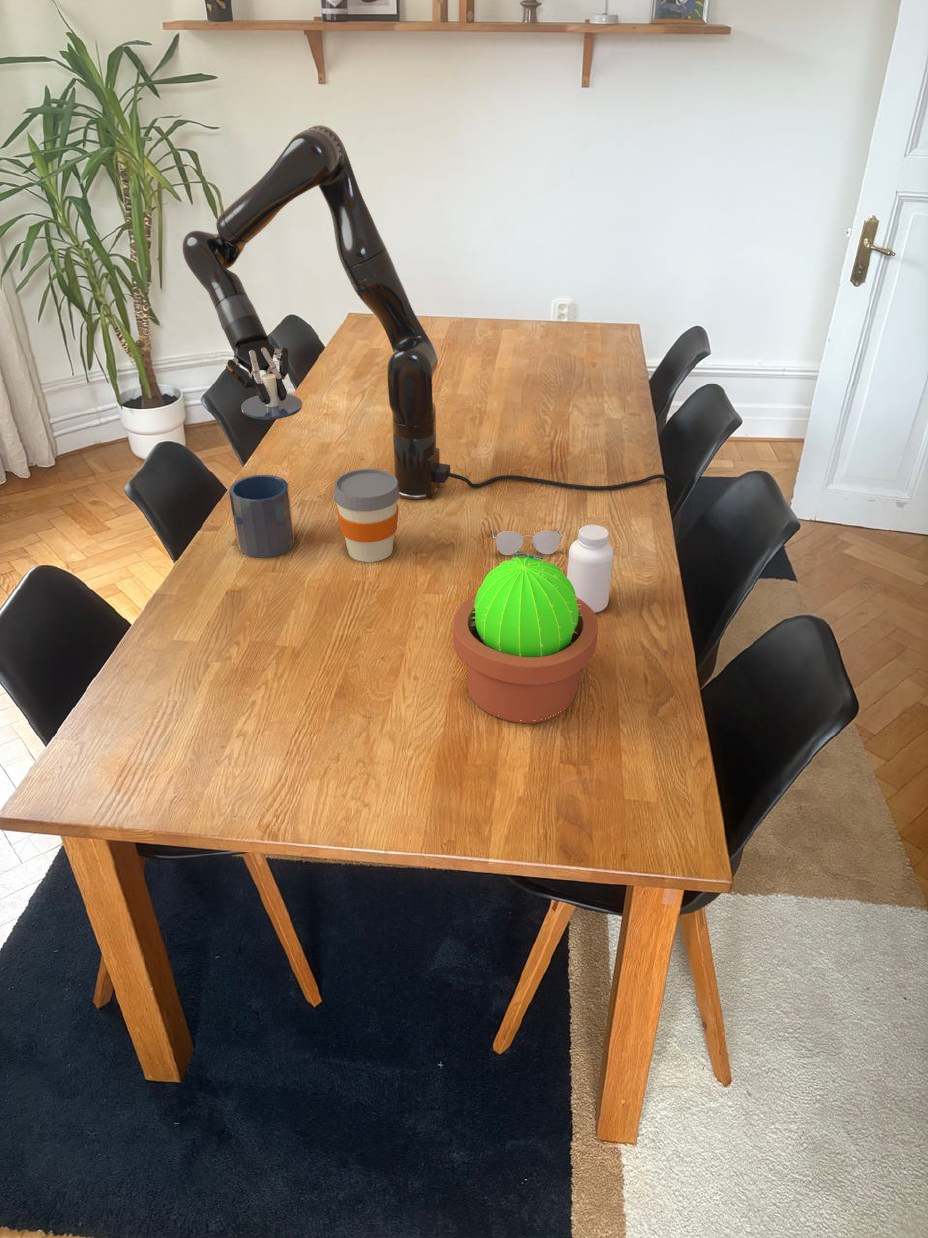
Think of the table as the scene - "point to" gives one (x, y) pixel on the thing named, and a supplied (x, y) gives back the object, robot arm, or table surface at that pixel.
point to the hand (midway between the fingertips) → (275, 400)
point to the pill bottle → (591, 566)
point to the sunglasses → (542, 541)
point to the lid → (271, 403)
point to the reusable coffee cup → (367, 512)
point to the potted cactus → (524, 640)
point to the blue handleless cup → (262, 515)
